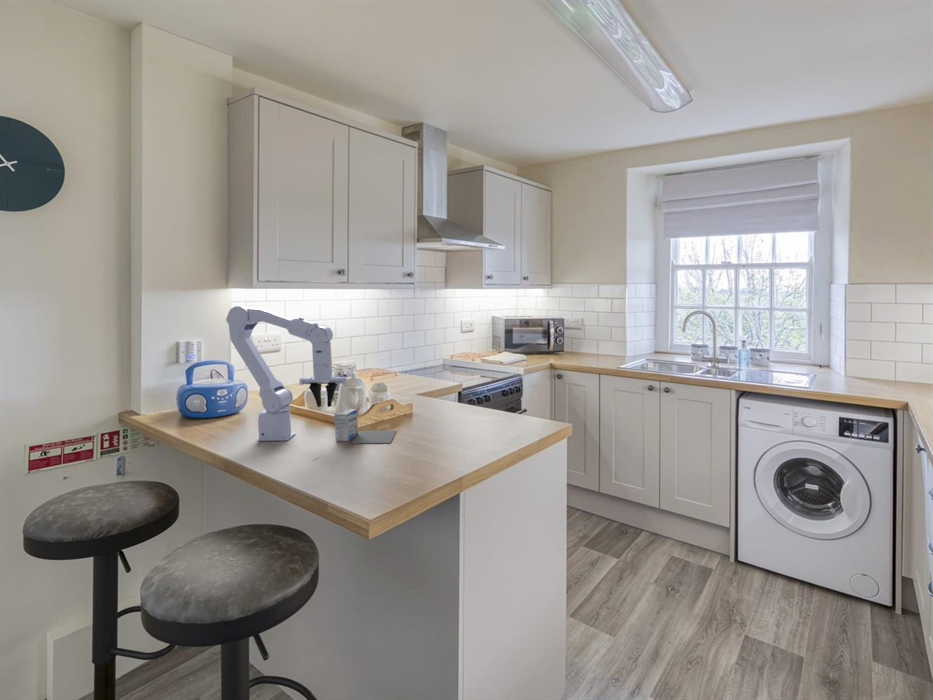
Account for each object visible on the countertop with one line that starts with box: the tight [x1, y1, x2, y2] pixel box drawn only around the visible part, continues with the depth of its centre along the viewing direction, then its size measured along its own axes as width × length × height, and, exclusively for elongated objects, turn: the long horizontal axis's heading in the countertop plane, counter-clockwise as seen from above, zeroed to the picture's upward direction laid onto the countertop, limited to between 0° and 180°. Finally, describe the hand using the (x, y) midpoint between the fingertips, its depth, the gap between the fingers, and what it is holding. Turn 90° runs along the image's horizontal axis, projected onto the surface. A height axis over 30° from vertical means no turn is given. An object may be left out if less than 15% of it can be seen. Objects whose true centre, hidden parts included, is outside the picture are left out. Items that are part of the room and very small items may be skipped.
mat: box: [351, 430, 397, 445], centre depth 165 cm, size 12×14×1 cm
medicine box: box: [334, 408, 359, 442], centre depth 165 cm, size 8×4×9 cm, turn 168°
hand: (324, 406), depth 164 cm, fingers open, 3 cm apart
